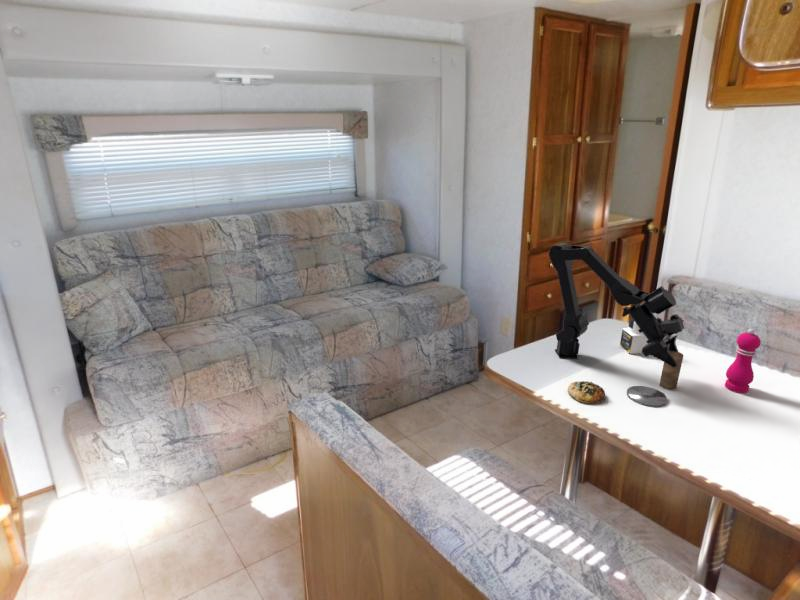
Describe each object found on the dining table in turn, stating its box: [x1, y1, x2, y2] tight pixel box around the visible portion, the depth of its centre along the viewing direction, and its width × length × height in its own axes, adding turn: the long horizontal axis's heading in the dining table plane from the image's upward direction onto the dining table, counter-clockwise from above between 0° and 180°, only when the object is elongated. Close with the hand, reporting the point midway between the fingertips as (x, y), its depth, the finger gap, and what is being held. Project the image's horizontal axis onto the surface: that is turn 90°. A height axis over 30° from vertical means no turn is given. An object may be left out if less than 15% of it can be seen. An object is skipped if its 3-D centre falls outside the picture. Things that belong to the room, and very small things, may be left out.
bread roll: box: [566, 380, 606, 405], centre depth 158 cm, size 11×11×5 cm
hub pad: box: [626, 385, 668, 408], centre depth 158 cm, size 11×11×1 cm
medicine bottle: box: [619, 317, 648, 355], centre depth 188 cm, size 7×7×12 cm
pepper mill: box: [724, 328, 761, 394], centre depth 161 cm, size 7×7×20 cm
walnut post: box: [658, 351, 684, 391], centre depth 163 cm, size 5×5×11 cm
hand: (677, 363), depth 161 cm, fingers closed on walnut post, 5 cm apart
